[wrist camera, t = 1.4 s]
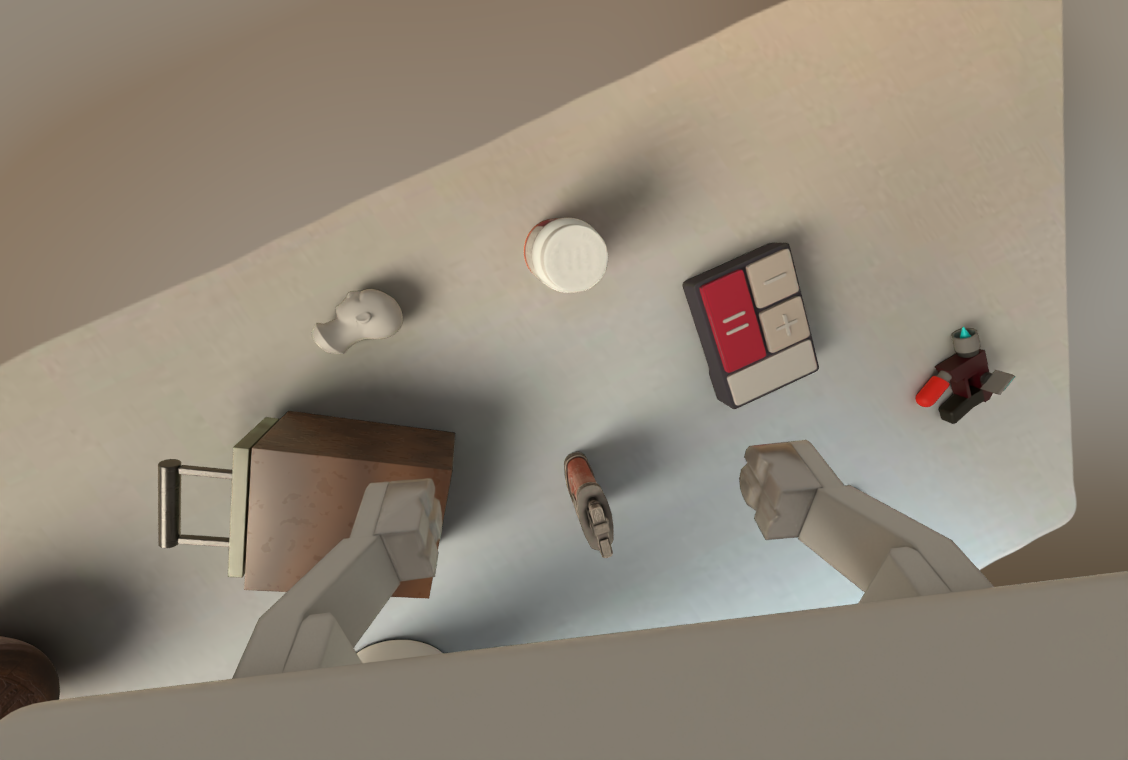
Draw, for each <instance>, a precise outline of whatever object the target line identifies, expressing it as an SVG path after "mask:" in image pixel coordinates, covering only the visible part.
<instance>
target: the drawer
mask: <svg viewBox="0 0 1128 760" xmlns="http://www.w3.org/2000/svg"><path fill="white" fill-rule="evenodd" d="M278 421H279V419H277V418H269V417H265V418H264V419H263V420H262V421H261V422H260V423H259V424H258V425H257V426H256V427H255V428H254V429H252V430H251V431H250V432H249V433H248V434H247V435H246V436H245V437H244V438H243V439H242V440H241V441H240V442H238V443H237V444H236V445H235V446H234V447H233V467H232V470H228V469H218V468H208V467H198V466H188V465H182V466H181V461H179V460H176V459H168V460H164V461H161V462H160V463H159V464H158V540H159V546H160V547H161V548H171V547H174V546H176V545H178V544H191V545H206V546H222V547H229V562H228V577H241V578H242V577H243V576H244V574H245V566H246V547H247V529H248V510H249V491H250V473H251V454H252V447H253V446H254V445H255V444H256V443H257V442H258V441H259V440H260V439H261V438H262V437H263V436H264V435H265V434H266V433H267V432H268V431H269V430H270V429H271V428H272V427H273V426H274V425H275V424H276V423H277V422H278ZM181 474H185V475H195V476H206V477H216V478H226V479H232V491H231V515H230V538H225V537H211V536H197V535H181Z"/></svg>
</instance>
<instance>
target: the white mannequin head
mask: <svg viewBox="0 0 1128 760" xmlns="http://www.w3.org/2000/svg"><path fill="white" fill-rule="evenodd" d="M336 315H337V318H336V319H334V320H332V321H330V322H327V323H325V324H321V323H316V325H315V327H314V328H313V330H312V332H311V333H312V337H313V339H314V341H315V342H316V343H317V345H318V346H319V347H320V348H322V349H323V350H325V351H326V352H328V353H339V354H344V353H345V352H346V351H347V350H348V349H349V348H350V347H351V346H352V345H353V344H355V343H356V342H358V341H360V340H363V339H384V338H388V337H390V336H392V335H394V334H395V333H396V332H398V330H399V329H400V328H401V326H402V323H403V315H402V312H401V309H400V307H399V305H398V303H397V302H396V301H395V300H394V299H393V298H392V297H391V296H389V295H387V294H386V293H384V292H381V291H379V290H375V289H365V290H363V291H351V292H349V293H348V294H347V298H345V299H344V300H343V302H342V303H341V304H340V305H337V306H336Z"/></svg>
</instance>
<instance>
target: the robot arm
mask: <svg viewBox="0 0 1128 760" xmlns="http://www.w3.org/2000/svg"><path fill="white" fill-rule="evenodd" d="M744 458H745V459H746V461H747V464H746V465H745V466H744V467H743V468H742V469H741V472H740V477H739V482H740V490H741V493H742V496H743V498H744V500H745V502H746V504H747V505H748V506H750V507H751V508H753V509H754V510H756V513H755V517H754V519H755V521H756V523H757V525H758V527H759V529H760V531H761V532H762V534H763V536H764V538H765V540H771V539H783V538H795V537H799V538H798V539H799V540H800V541H801V542H803V543H804V544H805V545H806V546H808V547H809V548H810V549H811V550H813V551H814V552H815V553H816V554H818V555H819V556H820V557H821V558H822V559H824V560H825V561H826V562H827V563H829V564H830V565H831V566H832V567H834V568H835V569H836V570H837V571H839V572H840V573H841V574H842V575H844V576H845V577H846V578H847V579H849V580H850V581H851V582H852V583H854V584H855V585H856V586H857V587H859V588H860V589H861V590H862V591H864V592H865V593H864V595H863V596H862V598H861V600H860V601H859V603H858V604H852V605H844V606H835V607H827V608H819V609H810V610H802V611H794V612H785V613H777V614H769V615H761V616H752V617H744V618H736V619H727V620H719V621H711V622H702V623H694V624H686V625H677V626H669V627H661V628H652V629H644V630H636V631H627V632H619V633H610V634H602V635H594V636H585V637H577V638H569V639H560V640H552V641H544V642H535V643H527V644H519V645H510V646H502V647H494V648H485V649H477V650H469V651H460V652H452V653H444V654H443V653H442V652H441V651H439V650H438V649H436V648H435V647H433V646H431V645H428V644H426V643H422V642H418V641H413V640H390V641H385V642H380V643H377V644H374V645H371V646H369V647H366V648H364V649H362V650H361V651H359V652H357V653H356V652H355V650H354V646H355V645H356V644H357V642H358V641H359V640H360V638H361V637H362V636H363V634H364V633H365V631H366V630H367V629H368V627H369V626H370V625H371V623H372V622H373V620H374V619H375V618H376V616H377V615H378V614H379V612H380V611H381V609H382V608H383V607H384V605H385V604H386V603H387V601H388V600H389V598H390V597H391V596H392V594H393V593H394V592H395V590H396V589H397V587H398V586H399V585H400V582H401V581H408V580H415V579H422V578H429V577H435V574H436V567H437V560H438V553H439V552H438V549H437V546H436V542H437V541H438V540H439V539H440V537H441V531H442V512H441V506H440V502H439V500H438V499H436V498H435V497H434V494H435V486H434V483H433V480H432V479H430V478H427V479H414V480H401V481H390V482H379V483H370V484H369V485H368V487H367V488H366V490H365V493H364V496H363V499H362V502H361V505H360V508H359V511H358V514H357V517H356V520H355V523H354V526H353V529H352V532H351V535H350V538H346V539H343V540H342V541H341V542H339V543H338V544H337V545H336V546H335V547H334V548H333V549H332V550H331V551H330V552H329V553H328V554H327V555H326V556H325V557H324V558H323V559H321V560H320V561H319V562H318V563H317V564H316V565H315V566H314V567H313V568H312V569H311V570H310V571H309V572H308V573H307V574H306V575H305V576H303V577H302V578H301V579H300V580H299V581H298V582H297V583H296V584H295V585H294V586H293V587H292V588H291V589H290V590H289V591H288V592H287V593H285V594H284V595H283V596H282V597H281V598H280V599H279V600H278V601H277V602H276V603H275V604H274V605H273V606H272V607H271V608H270V609H269V610H268V611H266V612H265V613H264V614H263V615H262V616H261V617H260V618H259V620H258V622H257V624H256V626H255V629H254V631H253V633H252V635H251V638H250V640H249V642H248V644H247V647H246V649H245V651H244V653H243V656H242V658H241V660H240V662H239V664H238V667H237V669H236V671H235V673H234V676H233V678H232V679H227V680H219V681H211V682H202V683H194V684H186V685H177V686H169V687H161V688H152V689H144V690H135V691H127V692H119V693H110V694H102V695H94V696H85V697H77V698H69V699H60V700H52V701H46V702H40V703H35V704H31V705H28V706H25V707H22V708H19V709H17V710H15V711H13V712H11V713H10V714H8V715H7V716H5V717H4V718H2V719H1V720H0V760H1128V571H1125V572H1117V573H1109V574H1100V575H1092V576H1085V577H1076V578H1068V579H1059V580H1051V581H1042V582H1034V583H1026V584H1018V585H1009V586H1001V587H994V586H993V585H992V584H991V583H990V582H989V581H988V579H987V578H986V577H985V576H984V575H983V574H982V573H981V572H980V571H979V569H978V568H977V567H976V566H975V565H974V564H973V563H972V562H971V561H970V560H969V558H968V557H967V556H966V555H965V554H964V553H963V552H962V551H961V550H960V549H959V547H958V546H957V545H956V544H955V543H954V542H953V541H952V540H951V539H949V538H947V537H945V536H943V535H941V534H939V533H938V532H936V531H934V530H932V529H930V528H928V527H926V526H925V525H923V524H921V523H919V522H917V521H915V520H914V519H912V518H910V517H908V516H906V515H904V514H902V513H901V512H899V511H897V510H895V509H893V508H891V507H890V506H888V505H886V504H884V503H882V502H880V501H878V500H877V499H875V498H873V497H871V496H869V495H867V494H865V493H864V492H862V491H860V490H858V489H856V488H854V487H853V486H851V485H847V486H844V484H843V483H842V482H841V481H840V479H839V478H838V477H837V475H836V474H835V473H834V472H833V470H832V469H831V468H830V467H829V465H828V464H827V463H826V461H825V460H824V459H823V458H822V456H821V455H820V454H819V453H818V451H817V450H816V449H815V447H814V446H813V445H812V444H811V443H810V442H809V441H807V440H800V441H791V442H781V443H772V444H763V445H754V446H749V447H748V448H747V449H746V452H745V456H744Z"/></svg>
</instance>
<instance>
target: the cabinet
mask: <svg viewBox="0 0 1128 760" xmlns="http://www.w3.org/2000/svg"><path fill="white" fill-rule="evenodd" d="M454 442H455V433H453V432H446V431H438V430H431V429H423V428H415V427H408V426H400V425H393V424H385V423H377V422H370V421H362V420H355V419H347V418H339V417H332V416H324V415H317V414H309V413H301V412H294V411H288V412H287V413H286V414H285V415H284V416H283V417H282V418H281V419H280V420H279V421H278V422H277V423H276V424H275V425H274V426H273V427H272V428H271V429H270V430H269V431H268V432H267V433H266V434H265V435H264V436H263V437H262V438H261V439H260V440H259V441H258V442H257V443H256V444H255V445H254V446H253V447H252V454H251V473H250V491H249V510H248V529H247V547H246V566H245V585H244V590H257V591H279V592H288V591H289V590H290V589H291V588H292V587H293V586H294V585H295V584H296V583H297V582H298V581H299V580H300V579H301V578H302V577H303V576H305V575H306V574H307V573H308V572H309V571H310V570H311V569H312V568H313V567H314V566H315V565H316V564H317V563H318V562H319V561H320V560H321V559H323V558H324V557H325V556H326V555H327V554H328V553H329V552H330V551H331V550H332V549H333V548H334V547H335V546H336V545H337V544H338V543H339V542H341V541H342V540H343V539H346V538H350V535H351V532H352V529H353V526H354V523H355V520H356V517H357V514H358V511H359V508H360V505H361V502H362V499H363V496H364V493H365V490H366V488H367V487H368V485H369V484H370V483H379V482H390V481H401V480H414V479H427V478H430V479H432V480H433V483H434V486H435V494H434V497H435V498H436V499H438V500H439V502H440V506H441V512H442V525H443V519H444V514H445V508H446V503H447V497H448V492H449V486H450V481H451V475H452V468H453V455H454ZM439 541H440V539H439V540H438V541H437V542H436V546H437V549H438V547H439ZM432 579H433V577H429V578H422V579H415V580H408V581H401V582H400V585H399V586H398V587H397V589H396V590H395V592H394V593H393V594H392V596H391V597H408V598H429V596H430V590H431V585H432Z"/></svg>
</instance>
